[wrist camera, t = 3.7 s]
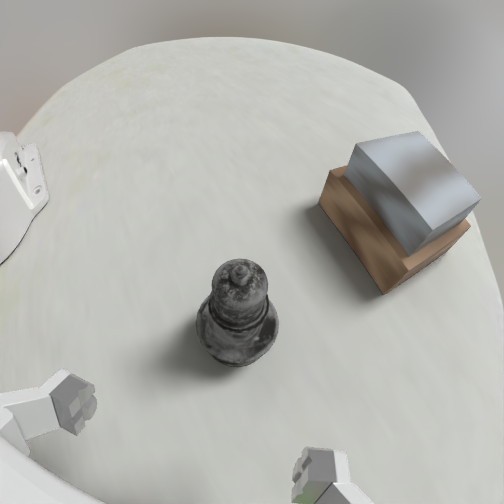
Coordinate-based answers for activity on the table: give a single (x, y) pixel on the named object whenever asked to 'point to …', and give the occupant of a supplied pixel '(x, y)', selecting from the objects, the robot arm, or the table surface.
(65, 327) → the table surface
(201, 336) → the salt shaker
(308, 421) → the table surface
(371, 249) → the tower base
